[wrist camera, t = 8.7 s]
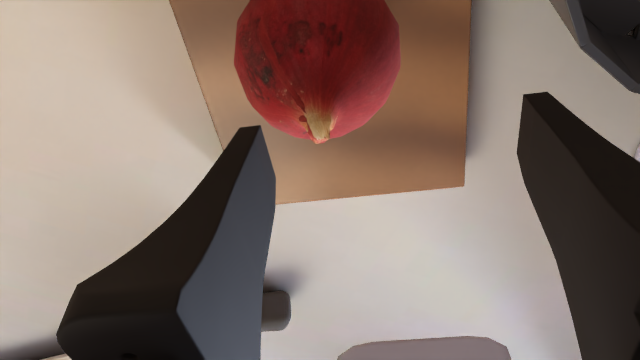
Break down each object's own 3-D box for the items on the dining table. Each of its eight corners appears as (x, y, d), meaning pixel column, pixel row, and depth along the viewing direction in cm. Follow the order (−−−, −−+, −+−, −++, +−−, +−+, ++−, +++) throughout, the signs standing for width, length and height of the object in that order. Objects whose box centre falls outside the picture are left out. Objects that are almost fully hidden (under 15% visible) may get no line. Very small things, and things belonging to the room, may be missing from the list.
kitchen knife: (18, 400, 48) (-35, 392, 44) (24, 370, 50) (-27, 360, 46) (314, 336, 39) (280, 319, 35) (311, 301, 40) (279, 281, 36)
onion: (221, 21, 22) (181, 146, 16) (298, -103, 19) (282, -2, 13) (335, 90, 25) (336, 221, 19) (422, -10, 21) (455, 111, 15)
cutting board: (459, 168, 30) (464, 187, 29) (246, 189, 31) (243, 208, 30) (474, -327, 16) (485, -327, 15) (95, -250, 18) (80, -244, 16)
